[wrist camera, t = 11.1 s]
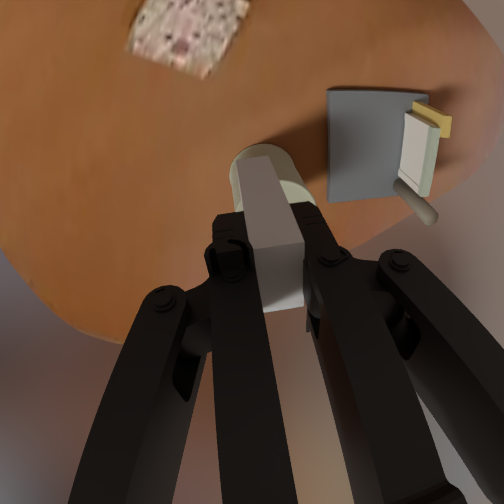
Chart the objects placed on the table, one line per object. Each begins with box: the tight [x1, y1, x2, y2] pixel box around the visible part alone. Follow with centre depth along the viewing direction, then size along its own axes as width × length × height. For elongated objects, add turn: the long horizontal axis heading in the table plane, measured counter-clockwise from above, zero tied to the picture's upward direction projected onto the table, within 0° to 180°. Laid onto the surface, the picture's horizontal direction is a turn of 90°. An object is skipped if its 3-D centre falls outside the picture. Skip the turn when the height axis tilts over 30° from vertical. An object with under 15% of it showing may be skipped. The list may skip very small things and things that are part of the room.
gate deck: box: [327, 89, 452, 226], centre depth 37 cm, size 17×16×11 cm
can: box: [230, 144, 317, 212], centre depth 38 cm, size 9×9×12 cm
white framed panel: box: [398, 113, 441, 197], centre depth 37 cm, size 10×2×7 cm, turn 5°
